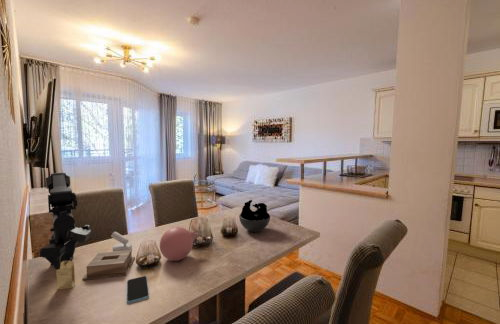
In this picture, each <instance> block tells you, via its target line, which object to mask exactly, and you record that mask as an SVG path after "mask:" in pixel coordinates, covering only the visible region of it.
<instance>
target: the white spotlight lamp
mask: <svg viewBox="0 0 500 324" xmlns="http://www.w3.org/2000/svg"><path fill="white" fill-rule="evenodd" d="M110 236H111V238H113V239H114V240H116V241H117V242H119V243H116V244H114V245H113V246H112V252H113V251H125V250H132V249H133V245H132V242H130V241H129V239H128V238H127V237H125V236H124V235H122V234H121V233H119V232H118V231H113V232H112V234H111V235H110Z"/></svg>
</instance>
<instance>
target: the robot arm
mask: <svg viewBox="0 0 500 324" xmlns="http://www.w3.org/2000/svg"><path fill="white" fill-rule="evenodd" d="M45 187H46V189H48V193H49V194H48V195H47V199H48V200H47V201H48V213H50V214H51V213H52V215H51V216H52V227H51V228H50V229H49V230H50V232H52V233H51V234H50V237H51V238H50V239H49V242H48V244H46V245H44V246H43V247H42V248H40V249H39V250H38V257H39V258H45V259H46V260H47V261H48V262H49V263H50V266H52V267H53V268H54V269H55V271H56V270H58V269H60V266H61V262H62V261H64V260H70V261H72V260H73V259H74V254H75V252H76V248H77V245H78V242H79V243H82V244H83V243H85V242H86V241H87V240H88V239H89V237H90V236H91V233H92V229H91V225H89V224H85V225H84V226H82V227H81V226H80V227H77V224H76V223H75V218H74V216H73V210H76V209H77V207H78V200H77V198H78V197H77V194H76V193H75V192H74V191H73V190H72V188H71V176H70V175H67V174H66V172H53V173H50V175H49V176H48V177H47V176H46V178H45Z"/></svg>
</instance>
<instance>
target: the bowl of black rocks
mask: <svg viewBox="0 0 500 324" xmlns="http://www.w3.org/2000/svg"><path fill="white" fill-rule="evenodd" d="M252 202H253V200H252V199H250V200H248V201H246V202H244V204H243V207H242V209H241V212H240V214H239V215H238V217H239V222H240V224H241V226H242V227H243V228H244V229H245V230H247V231H249V232H252V233H258V232H261V231H263V230H264V229H265V228H266V227H267V226H268V225H269V223H270V221H271V215H270V213H268V208H267V207H268V206H267V204H265V202H258V203H255V204H252ZM251 204H252V205H251ZM251 206H253V207H254V208H255V210H253V209H251Z"/></svg>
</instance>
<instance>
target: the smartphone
mask: <svg viewBox="0 0 500 324" xmlns="http://www.w3.org/2000/svg"><path fill="white" fill-rule="evenodd" d="M149 297H150V293H149V286H148V278H147V276H146V275H143V276H140V277H139V276H138V277H135V278H131V279H128V280H126V304H132V303H136V302H139V301H143V300H144V301H145V300H147V299H149Z"/></svg>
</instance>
